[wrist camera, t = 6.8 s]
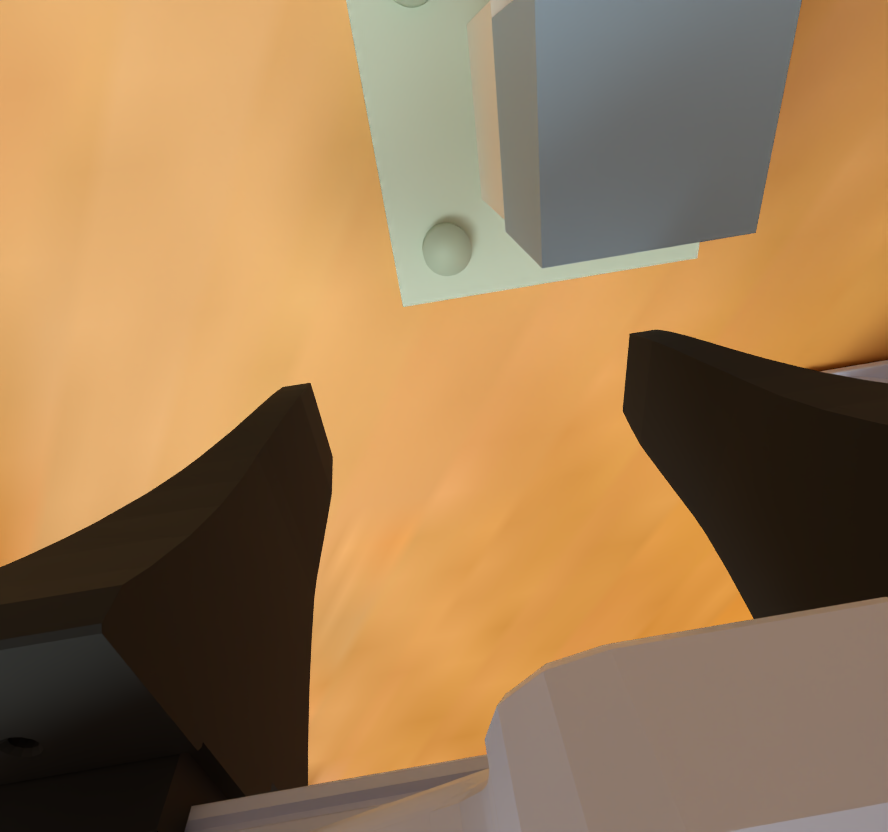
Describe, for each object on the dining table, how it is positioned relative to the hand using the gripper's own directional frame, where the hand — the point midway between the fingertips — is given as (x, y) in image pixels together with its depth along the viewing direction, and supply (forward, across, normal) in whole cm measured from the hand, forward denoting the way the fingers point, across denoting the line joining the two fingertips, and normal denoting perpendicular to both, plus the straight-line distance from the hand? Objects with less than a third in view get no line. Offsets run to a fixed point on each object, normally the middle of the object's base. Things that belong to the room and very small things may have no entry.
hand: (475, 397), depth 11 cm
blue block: (+5, -4, -5) cm, 8 cm away
